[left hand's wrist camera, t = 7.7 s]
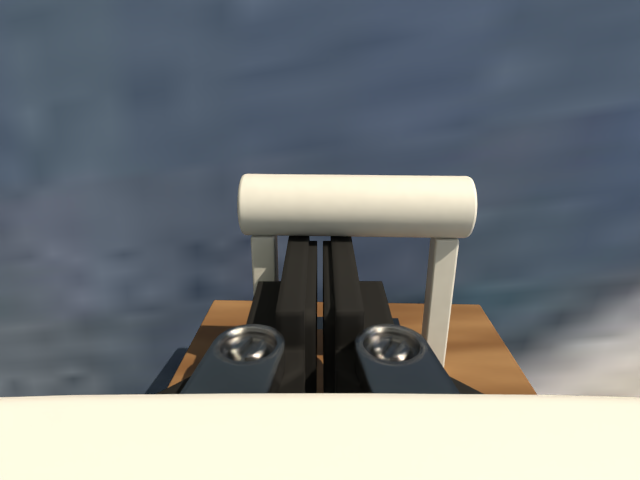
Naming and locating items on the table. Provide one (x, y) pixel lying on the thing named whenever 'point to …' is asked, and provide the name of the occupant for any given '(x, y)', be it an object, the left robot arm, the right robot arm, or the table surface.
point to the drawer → (374, 221)
